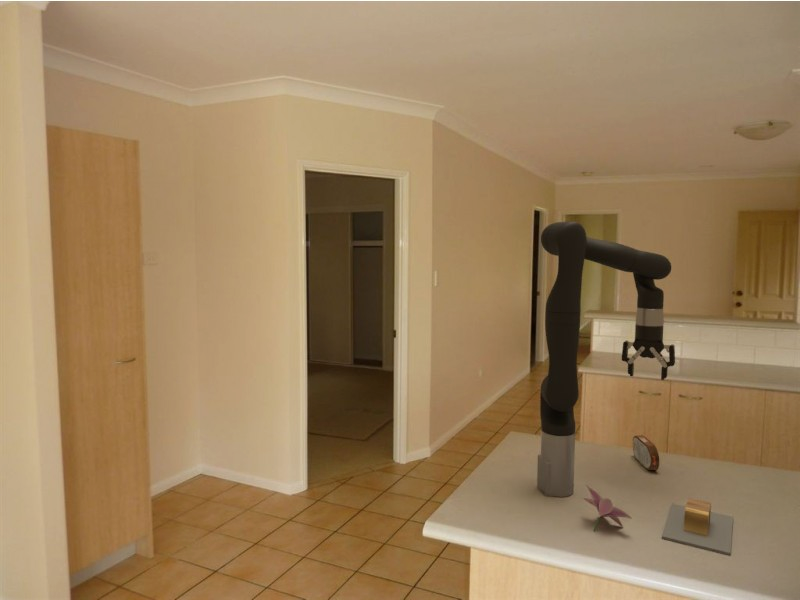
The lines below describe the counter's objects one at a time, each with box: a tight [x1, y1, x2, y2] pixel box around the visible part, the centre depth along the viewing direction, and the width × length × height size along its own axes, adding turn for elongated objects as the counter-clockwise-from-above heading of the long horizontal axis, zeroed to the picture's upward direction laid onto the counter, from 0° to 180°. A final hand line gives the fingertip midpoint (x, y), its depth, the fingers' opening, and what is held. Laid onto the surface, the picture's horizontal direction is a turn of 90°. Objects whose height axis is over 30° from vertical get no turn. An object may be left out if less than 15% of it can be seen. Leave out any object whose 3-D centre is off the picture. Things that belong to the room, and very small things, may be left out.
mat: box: [661, 503, 734, 556], centre depth 139 cm, size 20×14×1 cm
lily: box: [582, 484, 633, 532], centre depth 139 cm, size 12×12×10 cm
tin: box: [632, 434, 660, 471], centre depth 179 cm, size 15×3×8 cm, turn 179°
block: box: [684, 497, 712, 536], centre depth 139 cm, size 5×5×8 cm
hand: (647, 377), depth 167 cm, fingers open, 8 cm apart
